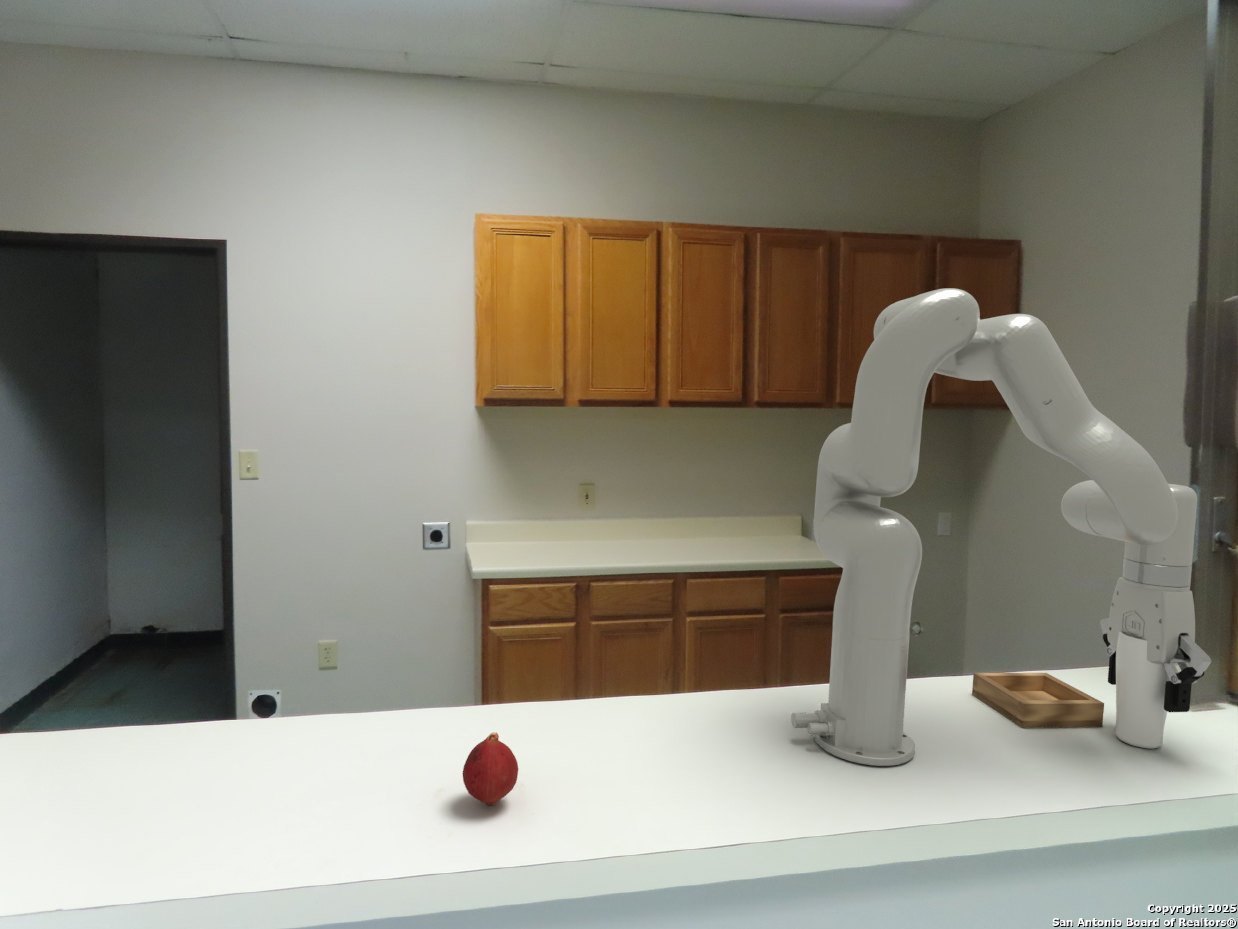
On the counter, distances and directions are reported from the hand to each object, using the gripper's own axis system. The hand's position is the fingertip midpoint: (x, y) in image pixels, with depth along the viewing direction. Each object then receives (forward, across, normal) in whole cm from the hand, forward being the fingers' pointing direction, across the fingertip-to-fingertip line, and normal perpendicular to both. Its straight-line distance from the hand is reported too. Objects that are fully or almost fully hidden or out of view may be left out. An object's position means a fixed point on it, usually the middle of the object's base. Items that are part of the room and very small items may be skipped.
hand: (1146, 697), depth 103 cm
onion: (+5, +13, -88) cm, 90 cm away
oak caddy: (+6, -11, -8) cm, 15 cm away
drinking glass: (+6, 0, -1) cm, 7 cm away
